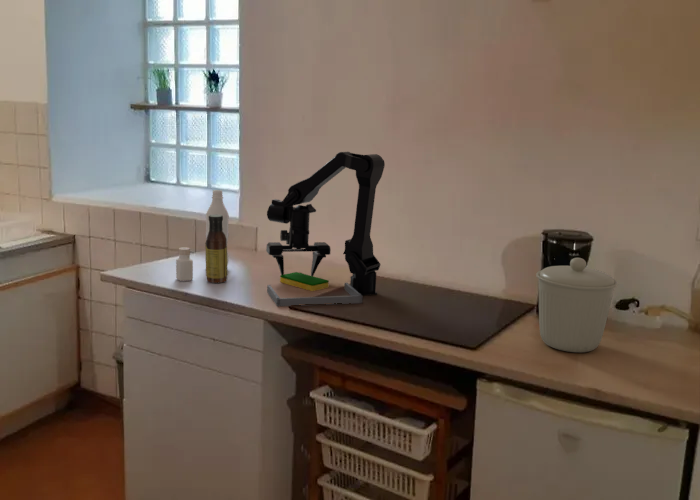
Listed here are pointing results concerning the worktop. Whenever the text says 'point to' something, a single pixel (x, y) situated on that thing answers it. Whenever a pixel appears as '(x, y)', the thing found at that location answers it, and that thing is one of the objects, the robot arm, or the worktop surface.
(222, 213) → the water bottle
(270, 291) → the box
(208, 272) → the sauce bottle
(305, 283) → the dish sponge
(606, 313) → the canister
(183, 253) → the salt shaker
